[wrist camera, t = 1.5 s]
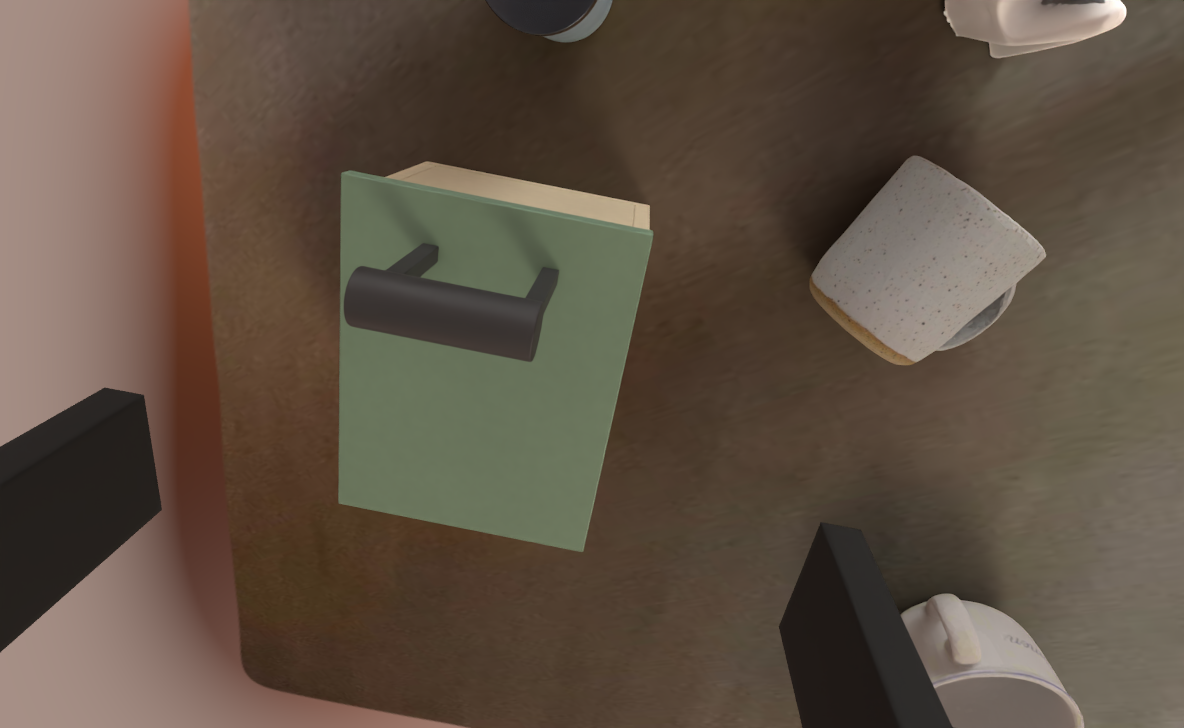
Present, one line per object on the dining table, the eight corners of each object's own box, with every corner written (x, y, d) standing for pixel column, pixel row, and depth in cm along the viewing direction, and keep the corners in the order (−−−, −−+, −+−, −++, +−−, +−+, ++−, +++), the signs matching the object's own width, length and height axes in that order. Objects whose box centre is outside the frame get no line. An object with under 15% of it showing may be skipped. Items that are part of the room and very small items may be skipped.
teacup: (1007, 681, 47) (1072, 792, 40) (855, 688, 49) (892, 795, 41) (1026, 532, 41) (1106, 629, 34) (854, 545, 43) (895, 640, 36)
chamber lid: (348, 169, 26) (233, 205, 18) (653, 230, 25) (654, 289, 18) (344, 494, 32) (259, 610, 25) (584, 542, 32) (565, 672, 25)
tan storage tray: (426, 160, 35) (349, 189, 26) (649, 205, 35) (649, 249, 26) (410, 404, 41) (345, 493, 32) (598, 441, 41) (584, 541, 32)
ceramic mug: (784, 271, 36) (819, 319, 29) (890, 143, 32) (959, 164, 25) (923, 368, 37) (988, 436, 30) (1037, 256, 34) (1137, 304, 27)
